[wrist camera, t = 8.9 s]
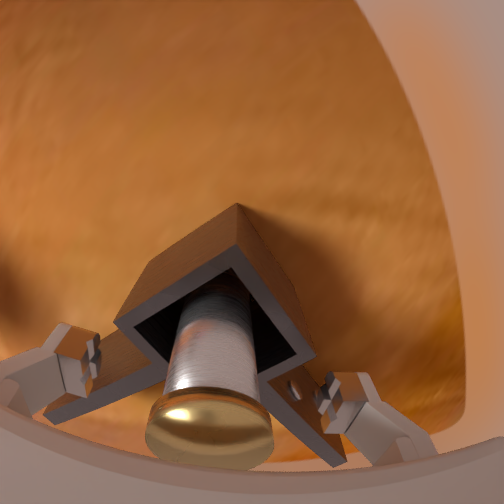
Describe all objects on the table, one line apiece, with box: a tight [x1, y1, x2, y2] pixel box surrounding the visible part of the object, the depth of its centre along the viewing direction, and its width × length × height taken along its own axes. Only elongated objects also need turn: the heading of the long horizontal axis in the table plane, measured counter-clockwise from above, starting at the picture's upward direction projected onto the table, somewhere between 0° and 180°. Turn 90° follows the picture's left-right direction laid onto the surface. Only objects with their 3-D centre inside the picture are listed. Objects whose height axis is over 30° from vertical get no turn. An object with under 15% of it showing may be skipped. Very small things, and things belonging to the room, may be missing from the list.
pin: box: [145, 267, 274, 470], centre depth 12 cm, size 4×4×11 cm
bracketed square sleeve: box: [43, 203, 347, 468], centre depth 17 cm, size 16×16×6 cm
